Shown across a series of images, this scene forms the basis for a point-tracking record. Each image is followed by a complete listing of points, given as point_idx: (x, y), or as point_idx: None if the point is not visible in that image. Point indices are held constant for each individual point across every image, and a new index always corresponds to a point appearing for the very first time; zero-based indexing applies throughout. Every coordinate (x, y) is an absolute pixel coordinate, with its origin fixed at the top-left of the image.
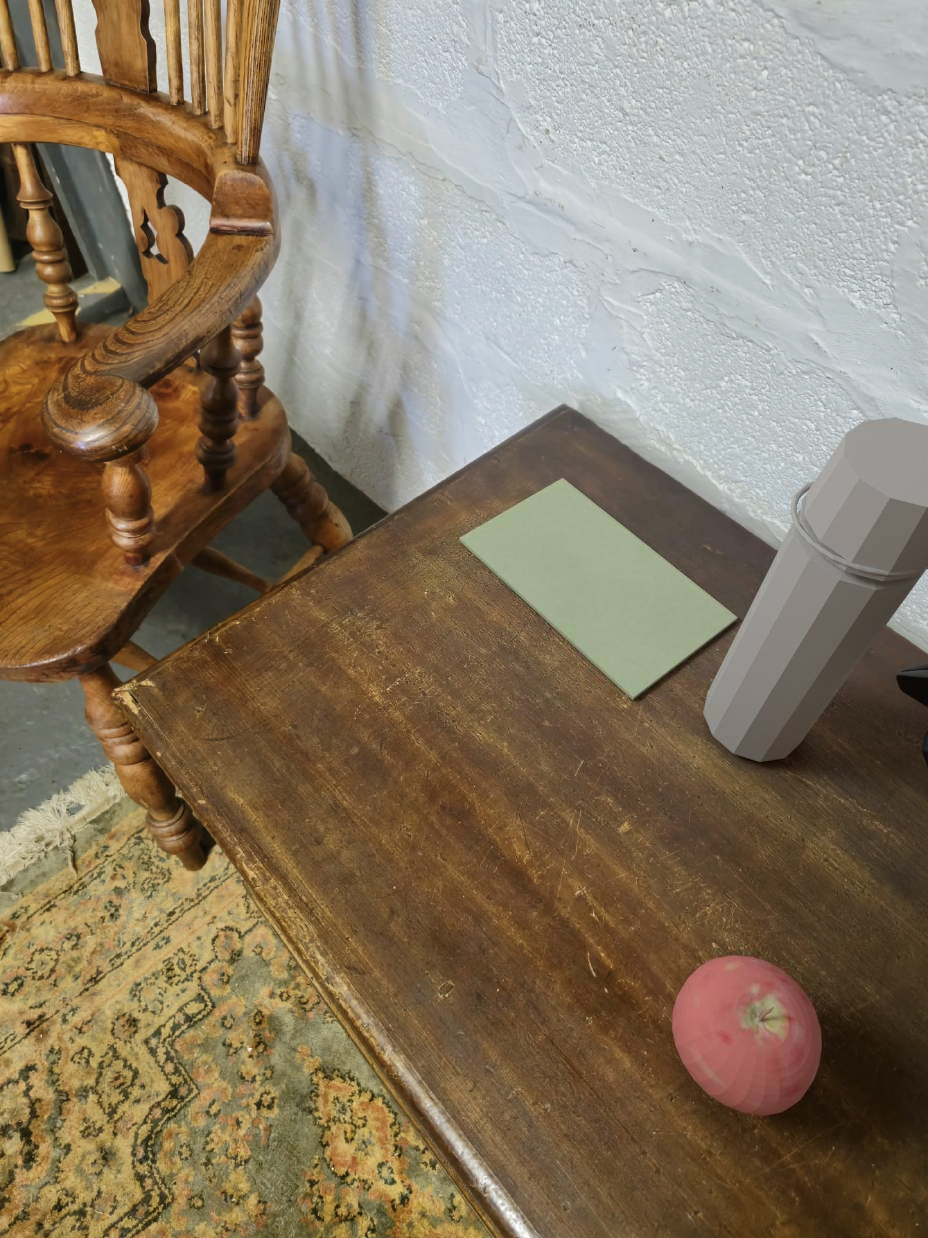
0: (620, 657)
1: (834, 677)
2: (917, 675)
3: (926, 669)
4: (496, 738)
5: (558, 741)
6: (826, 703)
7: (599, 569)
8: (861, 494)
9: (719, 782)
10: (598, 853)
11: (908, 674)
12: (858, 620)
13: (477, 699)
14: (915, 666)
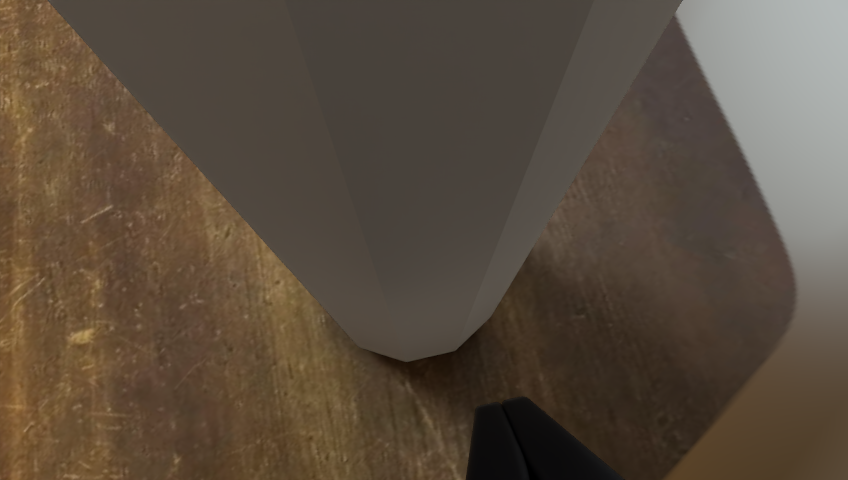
0: None
1: (361, 299)
2: (480, 476)
3: (535, 472)
4: (25, 116)
5: (103, 161)
6: (431, 330)
7: None
8: None
9: (282, 343)
10: (12, 355)
11: (482, 439)
12: (191, 145)
13: (49, 50)
14: (543, 420)
